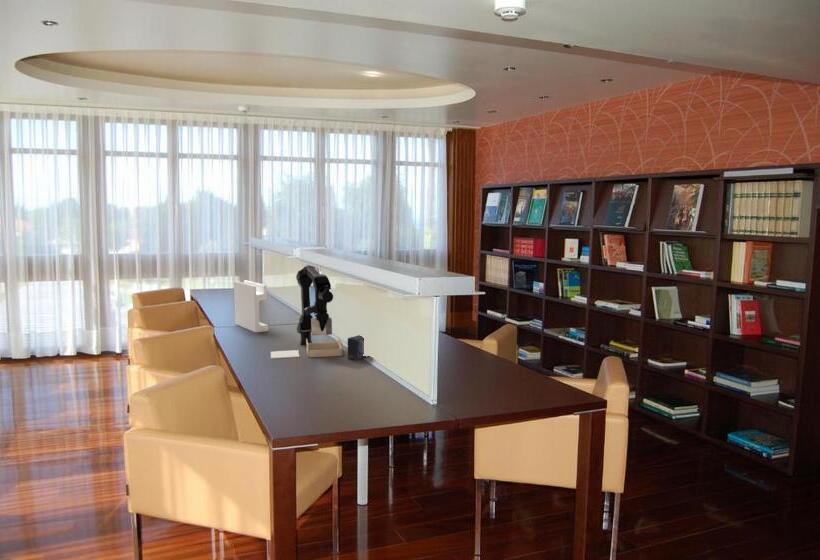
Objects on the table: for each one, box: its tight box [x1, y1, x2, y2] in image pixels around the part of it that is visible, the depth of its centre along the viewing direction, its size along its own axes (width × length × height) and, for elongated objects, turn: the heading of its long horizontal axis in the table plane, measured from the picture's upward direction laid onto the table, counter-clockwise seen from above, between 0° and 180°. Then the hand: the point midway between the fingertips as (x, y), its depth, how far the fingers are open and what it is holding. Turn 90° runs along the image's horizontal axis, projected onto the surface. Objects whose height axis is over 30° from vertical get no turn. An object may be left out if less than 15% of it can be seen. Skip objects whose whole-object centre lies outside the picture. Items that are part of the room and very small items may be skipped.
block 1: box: [233, 279, 269, 334], centre depth 396 cm, size 35×8×28 cm, turn 35°
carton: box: [305, 337, 344, 358], centre depth 327 cm, size 17×17×6 cm
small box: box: [347, 334, 367, 361], centre depth 316 cm, size 11×6×10 cm, turn 143°
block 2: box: [311, 316, 333, 336], centre depth 326 cm, size 5×10×8 cm, turn 103°
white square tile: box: [270, 349, 300, 360], centre depth 323 cm, size 14×14×1 cm
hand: (321, 330), depth 326 cm, fingers closed on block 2, 5 cm apart
